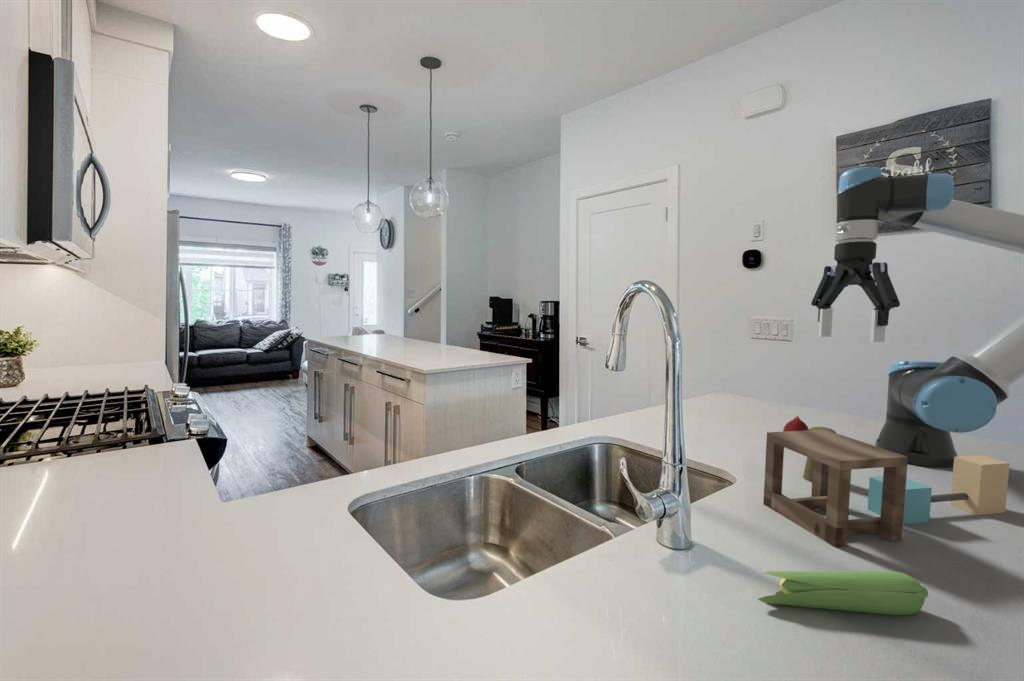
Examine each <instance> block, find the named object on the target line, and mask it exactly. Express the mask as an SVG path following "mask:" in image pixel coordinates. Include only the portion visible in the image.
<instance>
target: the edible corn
mask: <svg viewBox="0 0 1024 681" xmlns="http://www.w3.org/2000/svg"><path fill="white" fill-rule="evenodd" d="M763 573H764V574H765V575H769V576H772V577H775V578H776V577H777V578H781V580H780V582H779V588H780V590H779V591H776V593H775V594H772V595H765V596H763V597H759V598H757V600H758V601H760V602H762V603H764V604H765V603H766V604H767V605H781V606H793V607H803V608H812V609H825V610H834V611H846V612H858V613H868V614H876V615H877V614H878V615H888V616H889V615H890V616H910V615H914V614H916V613H917V612H918V611H920V610H922V608H923V606H924V605H925V599H926V598H927V597H929V592H928V589H927V587H926V586H924V585H921V583H920V582H919V581H918V580H916V579H915V578H914V577H912V576H910V575H908V574H906V573H904V572H900V571H899V572H898V571H893V570H833V571H831V570H830V571H829V570H826V571H825V570H823V571H822V570H821V571H819V570H818V571H816V570H815V571H814V570H813V571H812V570H810V571H807V570H805V571H804V570H803V571H802V570H801V571H799V570H798V571H797V570H795V571H792V570H791V571H788V570H784V571H782V570H781V571H779V570H778V571H777V570H775V571H773V570H770V571H769V570H767V571H764V572H763Z"/></svg>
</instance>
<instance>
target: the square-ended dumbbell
mask: <svg viewBox="0 0 1024 681" xmlns="http://www.w3.org/2000/svg"><path fill="white" fill-rule="evenodd" d="M952 467H953V468H952V478H951V479H952V480H951V491H950V492H951V493H943V494H942V493H941V494H932V493H933V490H932V489H933V487H931V486H930V485H929V486H928V485H926V484H923V483H921V482H919V481H916V480H912V479H909V477H908V478H907V477H906V490H905V503H904V517H903V525H911V524H919V523H921V524H923V523H929V522H930V516H931V505H932V503H933V504H934V503H941V502H942V503H943V502H950V504H951V506H953V507H955V506H956V507H955V508H957V509H960V508H961V510H963V509H964V510H963V511H965V512H968V513H971V514H974V515H976V516H981V515H982V516H983V514H984V515H993V514H1003V513H1004V514H1005V513H1006V507H1007V505H1006V504H1007V496H1008V487H1009V486H1008V484H1009V474H1010V473H1009V472H1010V462H1007V461H1005V460H1004V461H1002V460H999V459H997V458H993V457H990V456H986V455H982V454H977V455H961V456H957V457H954V466H952ZM882 488H883V475H879V476H869V483H868V495H867V496H868V498H867V510H868V511H870V512H872V513H874V514H876V515H879V517H880V516H881V502H882Z"/></svg>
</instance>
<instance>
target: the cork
mask: <svg viewBox="0 0 1024 681" xmlns="http://www.w3.org/2000/svg"><path fill="white" fill-rule="evenodd" d="M809 430H828V431H831V432H834V433H837V432H836V431H835V430H834V429H832V428H829V427H827V426H812V427H811V428H809ZM812 476H813V459H811V458H809V457H807V456H806V460H805V465H804V469H803V474H802V478H803V479H804V480H806V481H808V482H810V483H812Z"/></svg>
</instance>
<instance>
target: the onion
mask: <svg viewBox="0 0 1024 681" xmlns="http://www.w3.org/2000/svg"><path fill="white" fill-rule="evenodd" d="M805 430H810V428H809V426H808V425H807V424H806V423H805V422H804V421H803V420H801V419H800V416H799V415H795V416H794V418H793V419H791V420H789V421H788V422H786V424H785V425H784V427H783V431H782V432H785V431H805Z"/></svg>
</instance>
